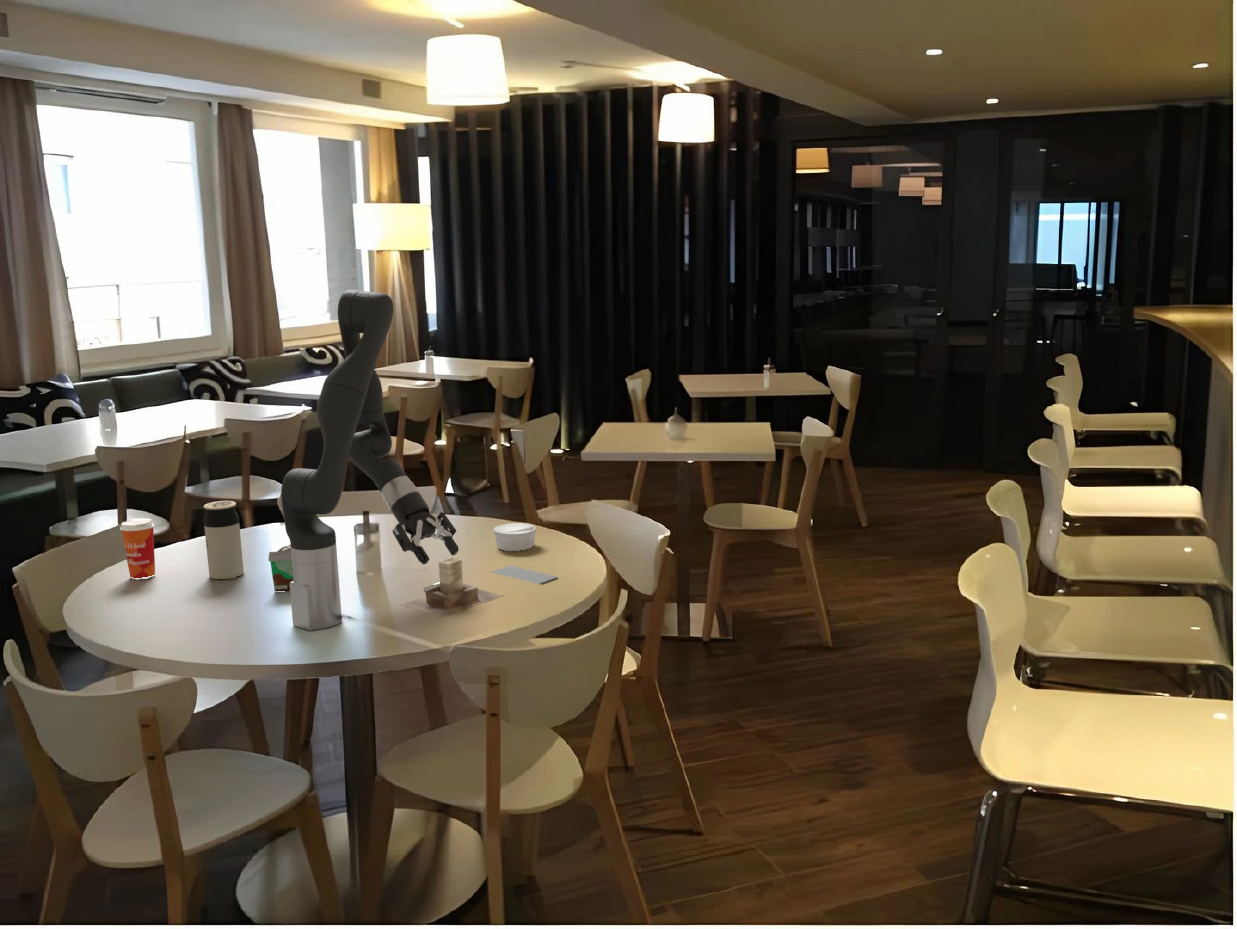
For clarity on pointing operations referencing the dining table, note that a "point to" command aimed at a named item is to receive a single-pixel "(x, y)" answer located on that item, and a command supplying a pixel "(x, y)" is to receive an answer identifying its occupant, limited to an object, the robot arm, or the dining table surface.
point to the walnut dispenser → (450, 600)
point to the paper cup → (139, 547)
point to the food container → (281, 568)
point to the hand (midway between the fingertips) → (441, 557)
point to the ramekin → (515, 536)
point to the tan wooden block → (450, 576)
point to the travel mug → (223, 540)
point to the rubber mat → (525, 574)
